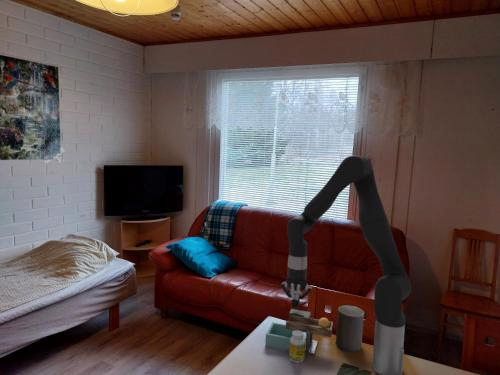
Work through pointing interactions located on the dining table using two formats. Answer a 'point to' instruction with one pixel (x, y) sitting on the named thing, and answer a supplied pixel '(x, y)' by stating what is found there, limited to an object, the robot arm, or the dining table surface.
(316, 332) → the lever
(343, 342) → the pillar candle
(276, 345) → the green open box
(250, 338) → the dining table surface
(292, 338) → the supplement bottle
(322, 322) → the ball
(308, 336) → the stand
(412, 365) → the dining table surface
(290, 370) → the dining table surface
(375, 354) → the robot arm
